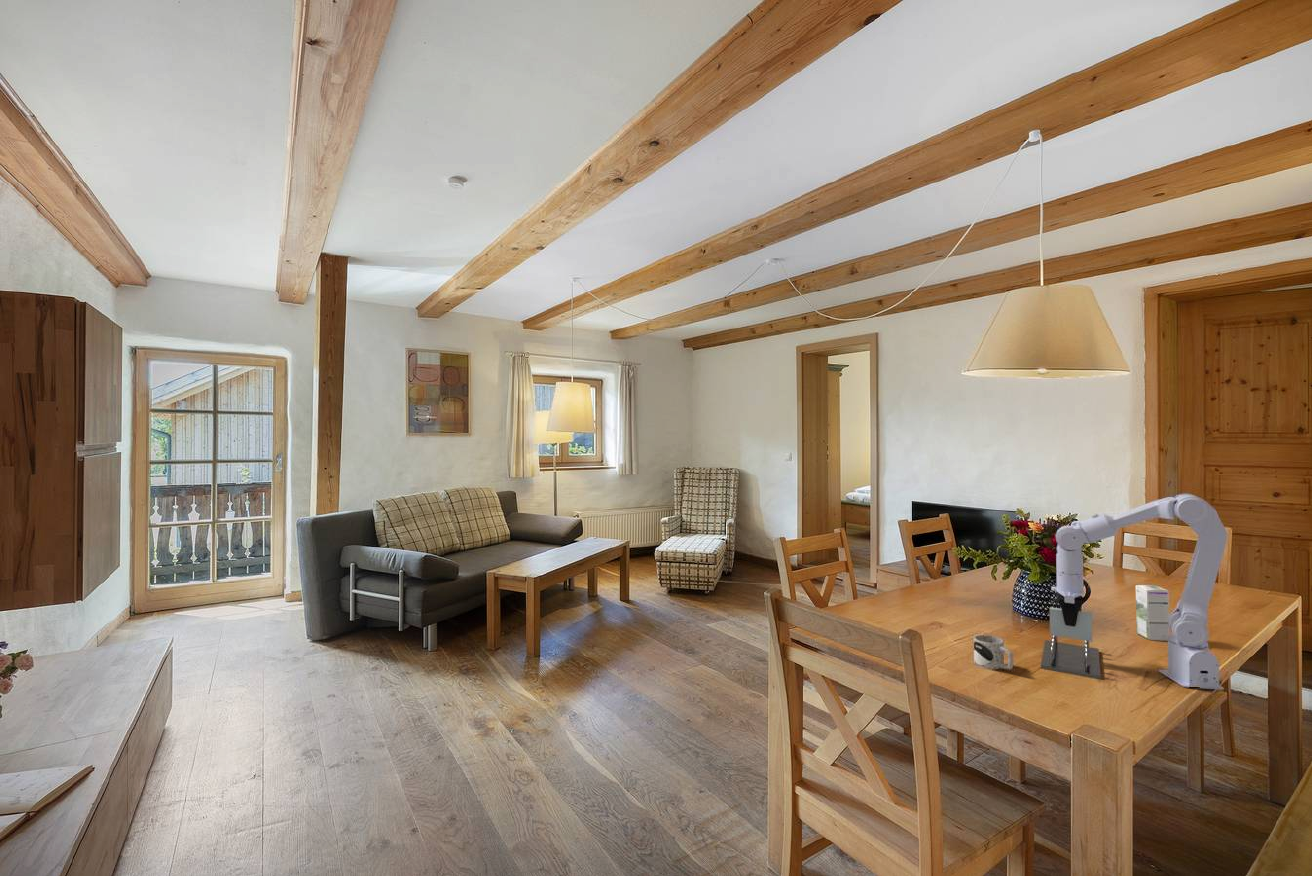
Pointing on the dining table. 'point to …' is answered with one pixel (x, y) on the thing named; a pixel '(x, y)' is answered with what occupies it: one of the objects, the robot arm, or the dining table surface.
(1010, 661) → the mug
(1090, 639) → the plate
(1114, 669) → the dining table surface
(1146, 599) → the syrup box
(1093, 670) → the rack
